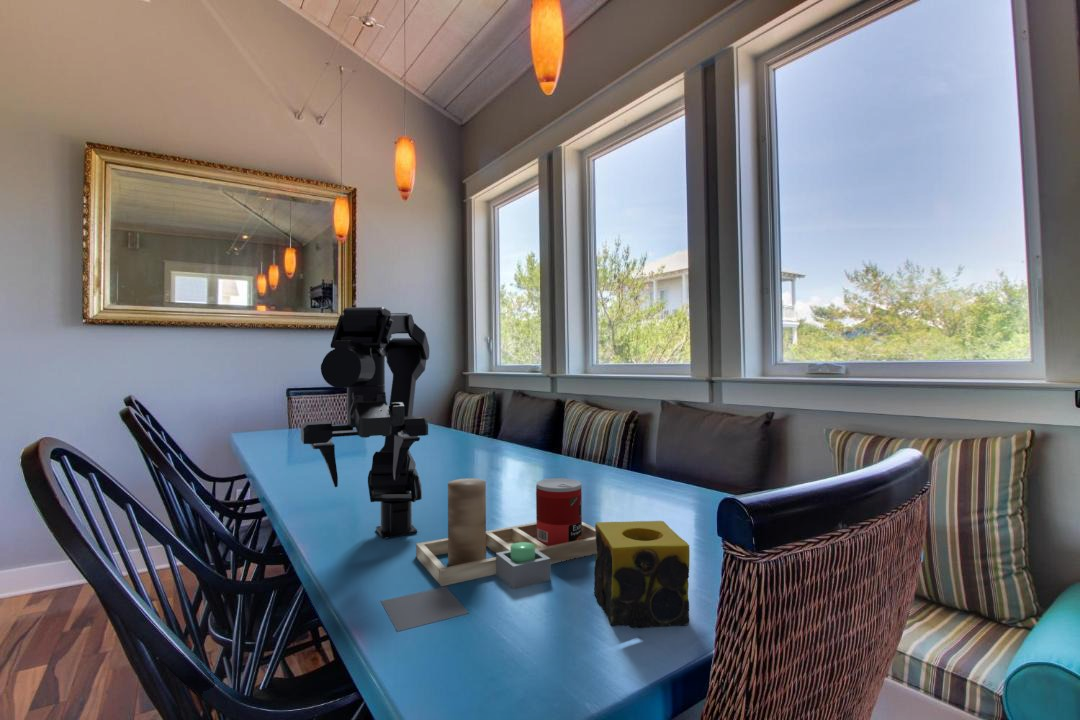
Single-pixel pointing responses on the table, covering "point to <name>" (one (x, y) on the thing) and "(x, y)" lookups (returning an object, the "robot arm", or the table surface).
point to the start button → (522, 552)
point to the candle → (641, 574)
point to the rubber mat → (423, 608)
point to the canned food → (558, 511)
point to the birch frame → (500, 543)
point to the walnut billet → (466, 521)
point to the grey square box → (523, 569)
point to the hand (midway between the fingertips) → (366, 483)
